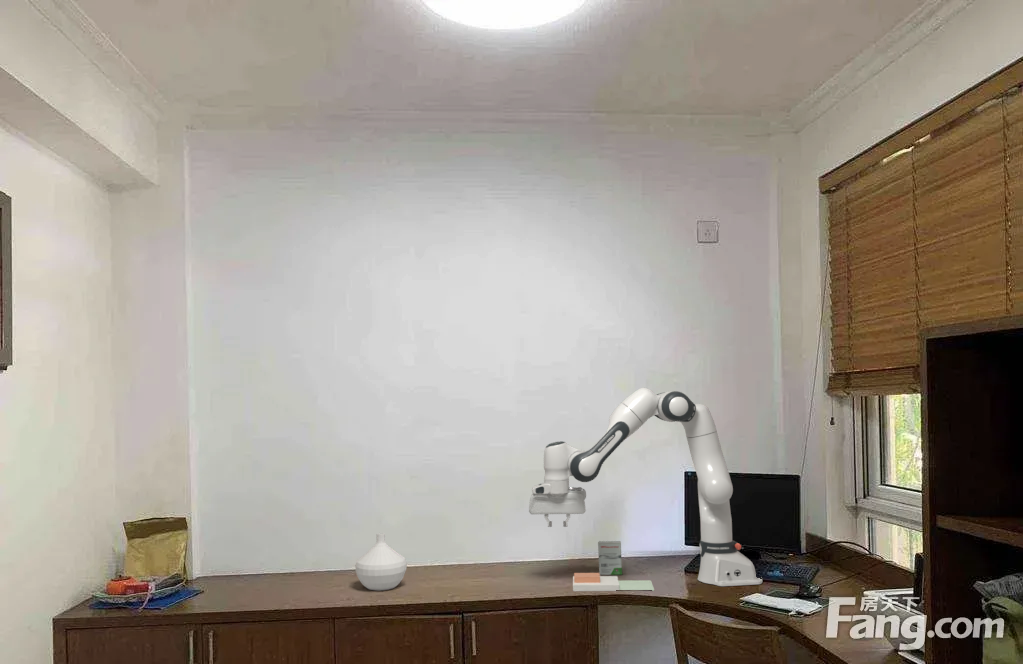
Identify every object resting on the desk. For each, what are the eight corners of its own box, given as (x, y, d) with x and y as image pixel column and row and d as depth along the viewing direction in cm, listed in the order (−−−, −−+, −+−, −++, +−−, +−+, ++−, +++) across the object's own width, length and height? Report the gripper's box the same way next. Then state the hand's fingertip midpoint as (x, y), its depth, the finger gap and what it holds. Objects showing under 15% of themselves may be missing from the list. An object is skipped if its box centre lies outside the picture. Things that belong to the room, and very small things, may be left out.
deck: (617, 581, 313) (617, 576, 313) (619, 590, 300) (619, 585, 300) (573, 581, 314) (572, 576, 314) (573, 591, 301) (572, 585, 301)
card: (599, 578, 310) (599, 572, 310) (600, 582, 304) (599, 576, 304) (574, 578, 311) (574, 573, 311) (574, 582, 305) (574, 577, 305)
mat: (651, 581, 312) (650, 580, 312) (654, 590, 299) (654, 589, 299) (617, 581, 313) (617, 580, 313) (619, 590, 300) (619, 589, 300)
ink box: (622, 571, 328) (621, 540, 328) (622, 575, 323) (621, 542, 323) (598, 571, 329) (598, 540, 329) (598, 575, 324) (598, 543, 324)
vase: (380, 578, 325) (380, 527, 326) (417, 584, 315) (416, 531, 316) (344, 589, 310) (344, 535, 311) (382, 596, 300) (381, 540, 301)
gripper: (585, 485, 312) (586, 524, 311) (529, 486, 313) (529, 525, 313) (585, 488, 306) (587, 527, 305) (528, 489, 307) (529, 528, 307)
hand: (557, 526), depth 309 cm, fingers open, 4 cm apart
